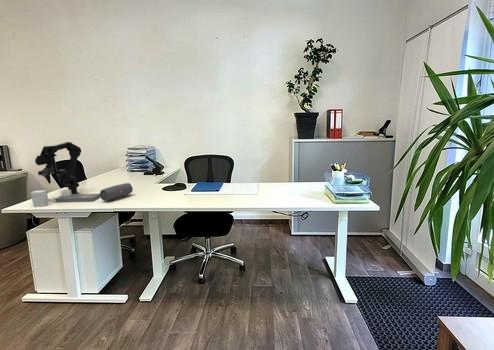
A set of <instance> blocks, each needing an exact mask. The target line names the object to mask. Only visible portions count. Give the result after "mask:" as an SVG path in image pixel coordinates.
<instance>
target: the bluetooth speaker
mask: <svg viewBox="0 0 494 350" xmlns="http://www.w3.org/2000/svg"><path fill="white" fill-rule="evenodd" d="M133 190H134V189H133V186H132V184H131V183H129V182H126V183H121V184H115V185H112V186H109V187H106V188H103V189H101V190H100V192H99V193H100V197H101V200H102V201H104V202H105V201H110V200H111V201H115V200H118V199H122V198H124V197H126V196H127V195H129V194H130V195H131V194H132V193H133Z"/></svg>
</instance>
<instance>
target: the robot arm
mask: <svg viewBox="0 0 494 350" xmlns="http://www.w3.org/2000/svg"><path fill="white" fill-rule="evenodd" d="M64 149H66V151H68V155H69V157H70V159H69V162H68V163H69V164H68V169H59V170H58V168H57V165H58V163H56V158H55V157H57V154H56V153H57V152H58V151H61V150H64ZM81 153H82V149H81V147H80V146H78V145H76V144H74V143H72V141H67V142H66V141H65V142H62V143H59V144H56V145H55V144H54V145H45V146H44V145H43V147H42V150H41V152H40V154H39V155H36V158H35V160H34V162H35V164H36V165H37V166H43V165H45V167H43V169H42V170H39V171H38V172H37V175H38V176H41V177H44V179H46V181H47V183H48V184H49V185H50V184H51V174H55V177H56V178H57V183H58V184H60V183H61V180H62V178H63V180H62V183H63V185H64V187H65V188H67V190H71V194H80V192H78V187H80V183H79V182H77V177H76V176H75V175H76V169H77V163H78V158H79V157H80V155H81ZM66 174H67V175H66Z"/></svg>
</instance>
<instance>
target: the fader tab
mask: <svg viewBox="0 0 494 350" xmlns="http://www.w3.org/2000/svg"><path fill="white" fill-rule="evenodd" d="M60 193H61V195H60V196H62V197H63V196H70V195H71V190H68V189H63V190H61V192H60Z"/></svg>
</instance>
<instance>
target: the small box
mask: <svg viewBox="0 0 494 350" xmlns="http://www.w3.org/2000/svg"><path fill="white" fill-rule="evenodd" d="M30 195H31V196H30V197H31V201H32V206H37V207H45V206H47V205H49V204H50V203H49V202H50V201H49V196H48V191H47V189H44V190H43V189H42V190H40V189H39V190H34V191H31V192H30Z"/></svg>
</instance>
